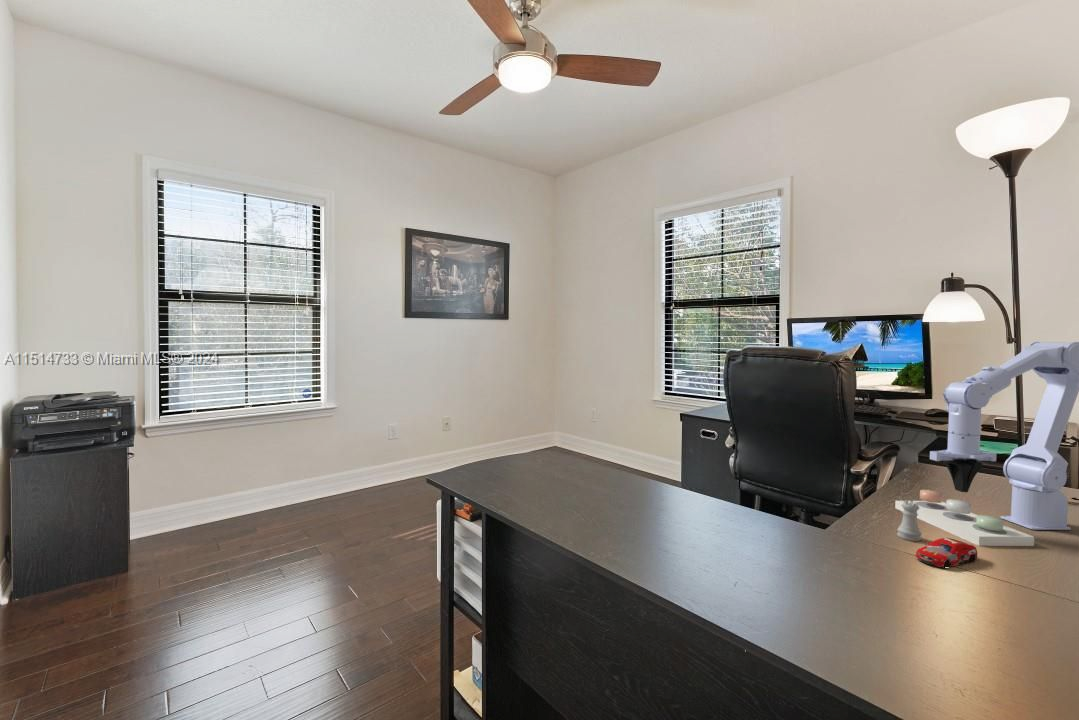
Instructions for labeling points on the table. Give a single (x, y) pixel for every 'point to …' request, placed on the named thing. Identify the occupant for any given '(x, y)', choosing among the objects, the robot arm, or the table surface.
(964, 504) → the grey button
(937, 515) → the button panel
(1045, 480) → the robot arm
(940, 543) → the race car
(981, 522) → the sage button
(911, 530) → the rook chess piece
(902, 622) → the table surface
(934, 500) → the terracotta button
